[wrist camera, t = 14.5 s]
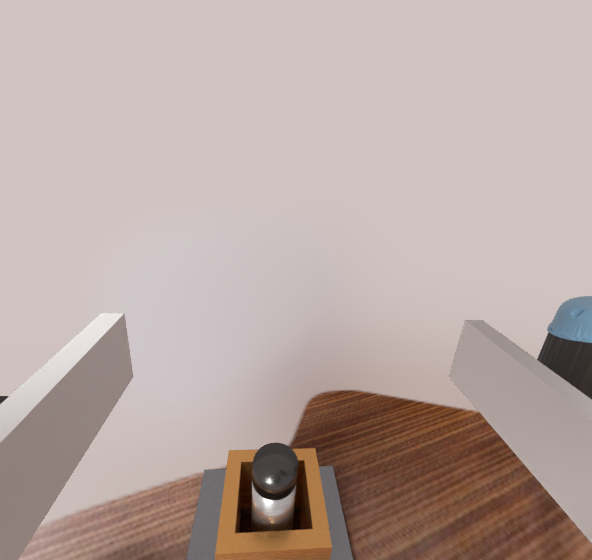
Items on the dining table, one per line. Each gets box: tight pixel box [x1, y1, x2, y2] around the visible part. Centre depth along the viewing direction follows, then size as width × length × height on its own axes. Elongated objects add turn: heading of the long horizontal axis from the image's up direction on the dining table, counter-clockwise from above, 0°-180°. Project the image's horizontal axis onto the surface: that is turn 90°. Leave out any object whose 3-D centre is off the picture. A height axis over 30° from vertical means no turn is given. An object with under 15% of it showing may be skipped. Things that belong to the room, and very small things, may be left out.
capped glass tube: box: [251, 443, 298, 532], centre depth 29 cm, size 4×4×12 cm
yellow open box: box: [186, 448, 353, 560], centre depth 30 cm, size 16×16×8 cm
